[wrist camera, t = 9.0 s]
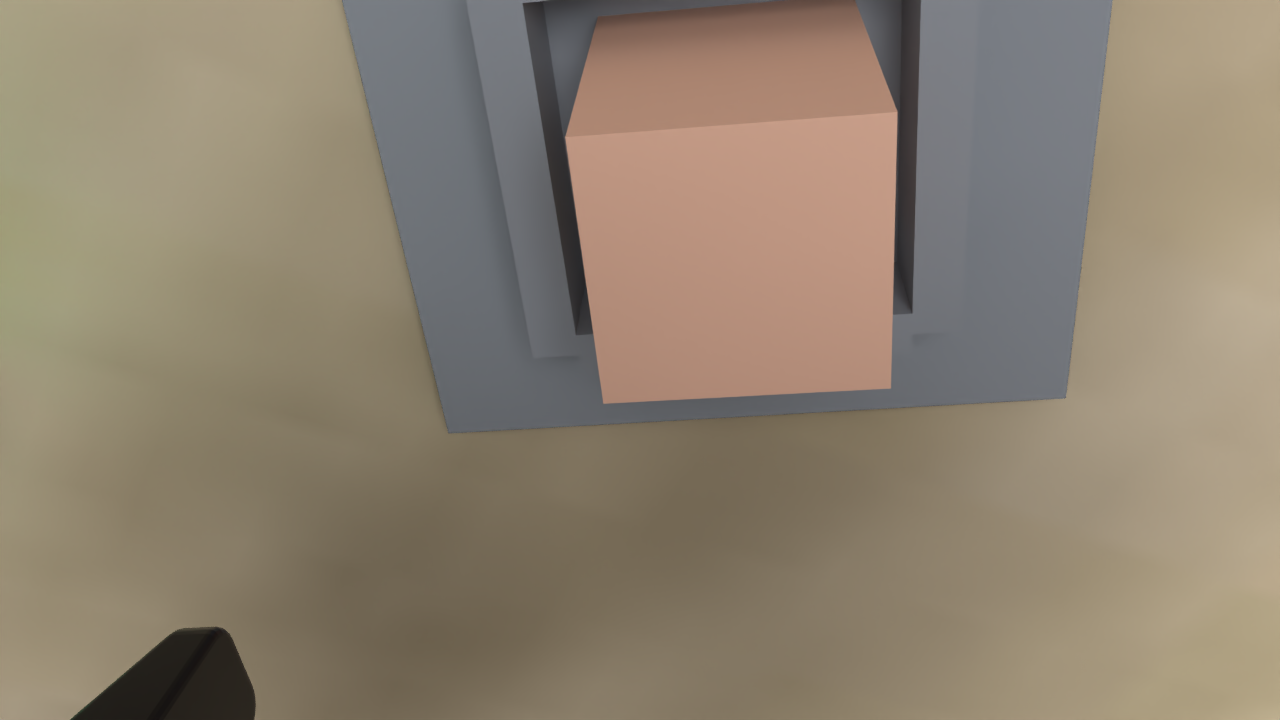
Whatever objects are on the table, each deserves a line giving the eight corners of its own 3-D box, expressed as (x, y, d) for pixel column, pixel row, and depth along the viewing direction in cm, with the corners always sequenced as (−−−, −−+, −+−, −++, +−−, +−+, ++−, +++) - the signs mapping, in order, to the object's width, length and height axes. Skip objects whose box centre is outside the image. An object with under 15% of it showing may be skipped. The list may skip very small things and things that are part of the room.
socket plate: (453, 415, 23) (429, 490, 21) (296, -241, 17) (240, -222, 15) (1057, 380, 22) (1092, 457, 20) (1137, -341, 16) (1200, -333, 14)
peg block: (624, 240, 20) (603, 403, 16) (597, 16, 18) (564, 137, 14) (852, 225, 20) (891, 388, 16) (852, -6, 18) (897, 111, 14)
